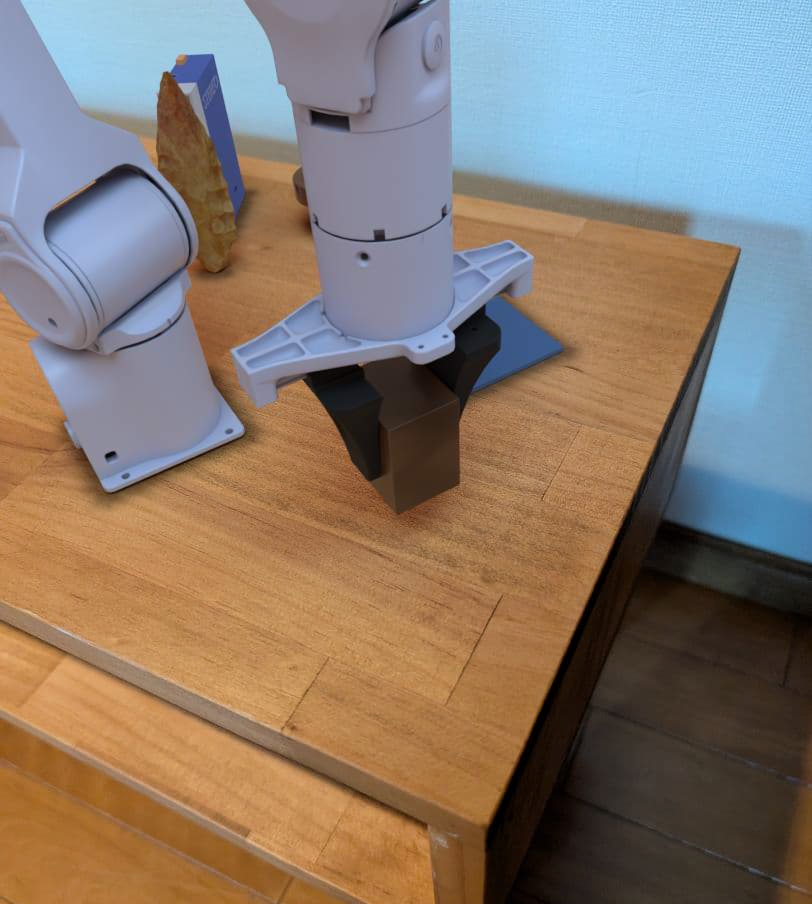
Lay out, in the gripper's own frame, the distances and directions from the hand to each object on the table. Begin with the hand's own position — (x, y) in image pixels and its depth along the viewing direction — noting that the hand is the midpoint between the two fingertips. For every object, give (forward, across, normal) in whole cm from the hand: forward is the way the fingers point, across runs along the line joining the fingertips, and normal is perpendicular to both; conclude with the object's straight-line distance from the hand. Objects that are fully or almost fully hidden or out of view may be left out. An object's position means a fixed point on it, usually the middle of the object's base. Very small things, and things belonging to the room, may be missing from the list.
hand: (402, 451), depth 41 cm
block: (+2, 0, 0) cm, 2 cm away
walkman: (+6, +5, +40) cm, 41 cm away
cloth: (+5, +12, +11) cm, 17 cm away
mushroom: (+6, +12, +32) cm, 35 cm away
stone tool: (+6, +1, +32) cm, 32 cm away
